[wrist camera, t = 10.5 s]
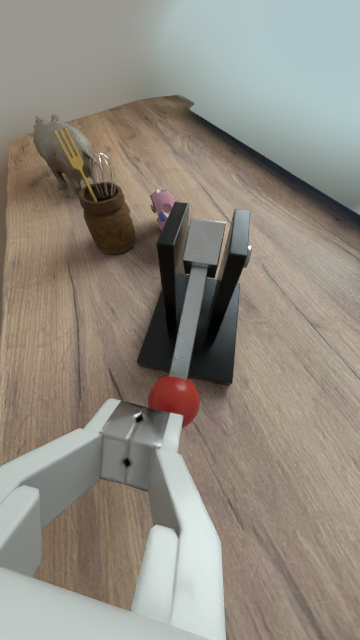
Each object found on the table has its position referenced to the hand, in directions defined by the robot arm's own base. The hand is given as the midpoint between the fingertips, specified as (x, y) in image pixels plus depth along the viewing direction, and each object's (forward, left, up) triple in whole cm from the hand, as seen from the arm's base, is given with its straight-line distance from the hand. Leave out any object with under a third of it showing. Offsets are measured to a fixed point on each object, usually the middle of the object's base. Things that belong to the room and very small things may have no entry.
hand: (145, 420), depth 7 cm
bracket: (+10, -4, -10) cm, 15 cm away
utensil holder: (+25, +6, -10) cm, 28 cm away
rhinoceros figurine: (+44, +15, -10) cm, 47 cm away
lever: (+6, -3, -4) cm, 8 cm away
